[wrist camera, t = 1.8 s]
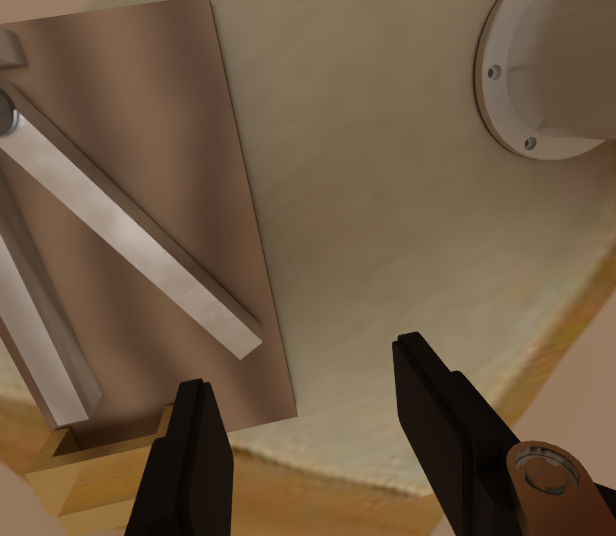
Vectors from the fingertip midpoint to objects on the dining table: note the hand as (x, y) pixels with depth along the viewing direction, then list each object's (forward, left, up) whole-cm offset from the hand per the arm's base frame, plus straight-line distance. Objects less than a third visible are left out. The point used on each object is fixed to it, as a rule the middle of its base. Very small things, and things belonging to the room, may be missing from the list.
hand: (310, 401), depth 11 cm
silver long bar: (+8, -2, -16) cm, 18 cm away
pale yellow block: (+14, +13, -16) cm, 25 cm away
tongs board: (+10, +1, -17) cm, 20 cm away
